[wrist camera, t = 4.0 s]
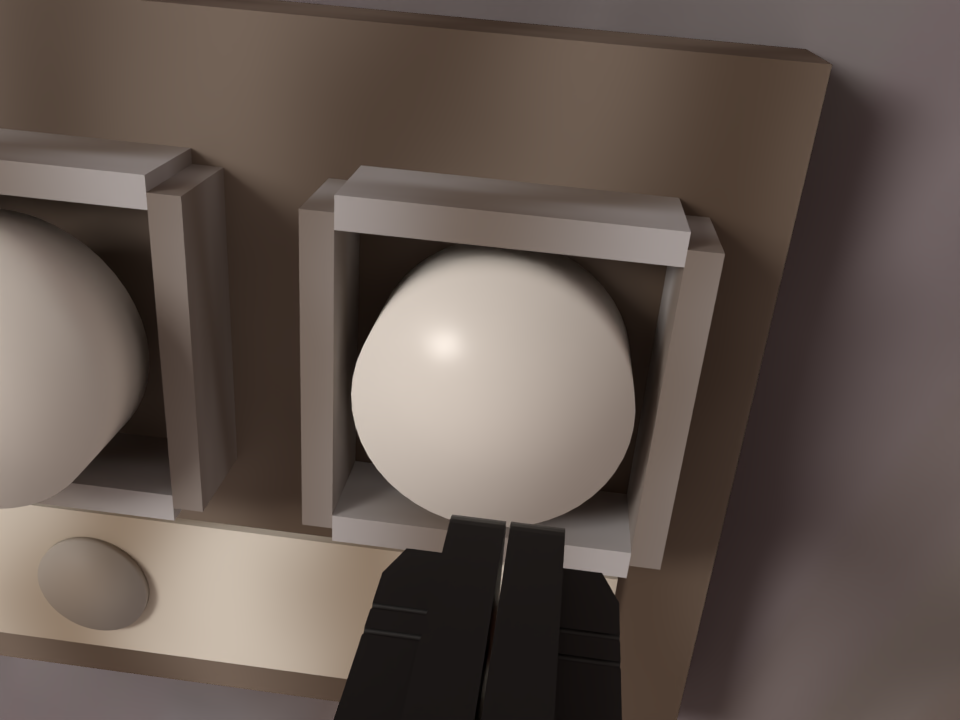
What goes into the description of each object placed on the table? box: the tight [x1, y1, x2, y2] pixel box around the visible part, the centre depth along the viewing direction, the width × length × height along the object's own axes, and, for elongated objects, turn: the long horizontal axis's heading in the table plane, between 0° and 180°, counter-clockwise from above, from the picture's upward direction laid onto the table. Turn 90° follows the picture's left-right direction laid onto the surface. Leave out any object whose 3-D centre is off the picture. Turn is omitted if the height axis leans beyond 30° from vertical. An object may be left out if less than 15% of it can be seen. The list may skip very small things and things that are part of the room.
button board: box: [0, 0, 832, 720], centre depth 20 cm, size 28×16×4 cm, turn 86°
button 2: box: [351, 244, 635, 527], centre depth 17 cm, size 5×5×2 cm
